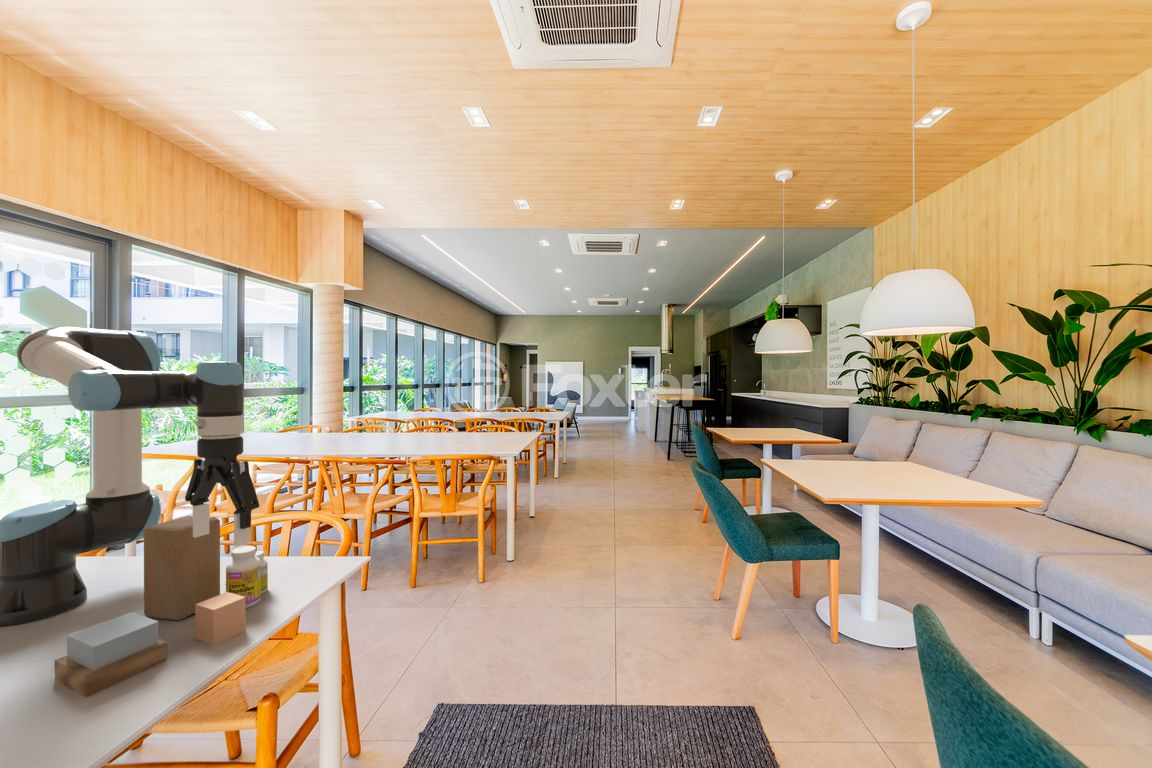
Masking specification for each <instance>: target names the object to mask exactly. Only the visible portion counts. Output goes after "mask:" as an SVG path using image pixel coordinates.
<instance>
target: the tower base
mask: <svg viewBox="0 0 1152 768" xmlns="http://www.w3.org/2000/svg"><path fill="white" fill-rule="evenodd" d="M167 645H168V643H167V641H165V640H163V639H160V638H159V643H157V644H155V645H153V646H150V647H148V648H146V649H143V650H141V651H138V652H136V653H134V654H131V655H129V656H127V657H124V658H122V659H120V660H117V661H115V662H113V663H110V664H108V665H106V666H103V667H101V668H99V669H96V670H94V671H93V670H91V669H89V668H87V667H85V666H83V665H81V664H79V663H77V662H75V661H73V660H71V659H69V658H67V655H65V656H62V657H60V658H57V659H54V681H56V682H57V683H59V684H61V685H63V686H64V687H66V688H68V689H70V690H72V691H74V692H76V693H78V694H80V695H81V696H83V697H85V698H88V697H91V696H93V695H95V694H97V693H100V692H102V691H103V690H106V689H108V688H110V687H113V686H116V685H117V684H119V683H121V682H123V681H125V680H127V679H129V678H132V677H134V676H136V675H138V674H141V673H143V672H145V671H147V670H150V669H152V668H154V667H157V666H158V665H160V664H163V663H165V662H168V658H167V657H168V653H167V652H168V647H167Z"/></svg>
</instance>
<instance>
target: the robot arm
mask: <svg viewBox="0 0 1152 768" xmlns="http://www.w3.org/2000/svg"><path fill="white" fill-rule="evenodd" d="M160 355H161V354H160V351H159V348H158V346H157V344H156V342H155V341H154V339H153V338H152V337H151V336H150V335H149V334H146V333H144V332H138V331H132V330H126V329H123V330H118V329H117V330H116V329H105V328H91V327H89V328H87V327H86V328H85V327H76V326H58V327H57V326H55V327H50V328H45V329H40V330H37V331H35V332H33V333H32V334H29V335H28V336H26V337H24V339H23V340H22V341H21V342H20V343H19V345H18V347H17V350H16V357H17V361H19V364H20V365H21V366H22V367H23V368H24V369H25V370H26V371H28V372H30V373H32V374H34V375H35V376H39V377H41V378H45V379H52V380H54V381H56V382H58V383H60V384H61V385H63V386H65V387H66V388H67V389H68V399H69V402H71V405H72V406H73V408H75V409H76V410H78V411H81V412H82V411H85V412H86V411H90V412H93V411H94V413H93V416H94V417H93V419H94V420H93V423H94V426H93V429H94V445H93V446H94V487H93V488H92V489H91V490H89V492H87V493H86V494H85V503H81V504H78V503H76V501H75V500H73V499H63V500H56V501H48V502H43V503H38V504H35V505H30V506H27V507H23V508H20V509H17V510H14V511H12V512H10V513H8V514H6V515H4V516H3V517H2V518H1V519H0V627H5V626H13V625H20V624H25V623H31V622H35V621H39V620H42V619H46V618H50V617H53V616H56V615H58V614H59V615H60V614H62V613H64V612H67V611H69V610H71V609H74V608H76V607H77V606H80V605H81V604H83V603H84V602H85V601H86V600H87V598H88V593H87V592H88V590H87V585H85V584H86V583H85V582H84V581H83V579H82V576H81V575H80V573H79V571H78V569H77V559H76V558H77V555H81V554H84V553H90V552H93V551H98V550H102V549H106V548H111V547H115V546H119V545H123V544H125V545H126V544H130V543H133V542H136V541H139V540H142V539H143V540H144V530H145V528H147V527H149V526H153V525H156V524H160V523H159V522H160V519H161V514H162V505H161V502H160V497H159V496H158V495H157V493H155V492H151V488H150V486H149V485H147V484H145V483H144V482H143V454H142V453H143V451H142V448H143V447H142V446H143V443H142V441H143V440H142V437H143V436H142V435H143V432H142V429H143V428H142V425H143V424H142V423H143V421H142V419H143V417H142V415H143V413H142V410H144V409H166V408H167V409H170V408H172V409H173V408H196V411H197V413H196V417H197V421H196V423H195V426H196V427H197V436H198V437H200V438H198V440H196V445H197V446H196V447H197V448H196V449H197V450H196V451H197V453H196V455H197V456H198V457H199V458H195V459H194V461H193V470H192V474H191V477H190V479H189V484H188V487H187V489H186V493H185V497H184V501H185V502H189V503H190V505H191V506H192V516H193V537H194V538H196V537H199V536H203V535H207V534H209V518H210V503H209V502H210V499H209V498H210V495H211V493H212V491H213V490H214V488H215V486H216V485H217V484H220V486H222V487H224V488H225V489H226V490H225V491H226V492H227V494H228V496H229V498H230V500H231V501H232V504H233V505H234V508H235V511H234V512H233V546H234V547H236V548H237V547H241V546H242V545H243V546H244V545H246V544H249V543H251V542H252V540H251V539H252V535H251V532H252V531H251V529H252V527H251V526H252V511H253V510H255V509H258V508H259V507H260V502H259V499H258V496H257V492H256V489H255V486H254V483H253V479H252V477H251V474H250V466H249V461H248V460H244V461H238V456H240V455H242V454H243V453H244V437H243V436H242V435H243V433H244V415H243V413H244V382H245V380H244V378H243V377H244V376H243V366H242V364H241V363H240V362H237V361H218V360H217V361H214V360H213V361H212V360H211V361H207V360H206V361H200V362H199V363H197V366H196V371H193V370H191V371H166V370H165V371H164V370H162V371H161V370H160V368H161V356H160Z"/></svg>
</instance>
